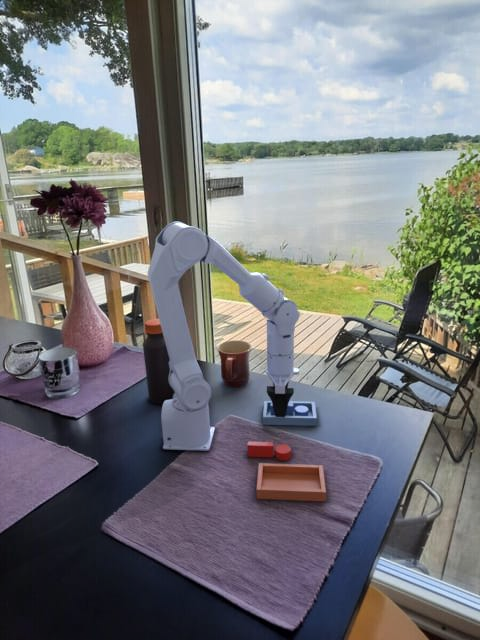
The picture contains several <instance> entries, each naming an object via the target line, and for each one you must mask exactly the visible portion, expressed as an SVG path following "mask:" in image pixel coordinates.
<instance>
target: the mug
mask: <svg viewBox="0 0 480 640" xmlns="http://www.w3.org/2000/svg"><path fill="white" fill-rule="evenodd" d="M216 350H217V352H218V355H219V358H220V359H219V360H220V377H221V381H222V384H223V385H224V386H226V387H228V388H231V389H239V388H243V387H245V386H247V385H248V384H249V382H250V376H251V371H250V356H251V355H250V354H251V351H252V344H251V343H250V342H247V341H246V340H245V341H244V340H228V341H223V342H221V343H219V344H218V345H217V346H216Z"/></svg>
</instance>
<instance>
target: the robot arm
mask: <svg viewBox="0 0 480 640" xmlns="http://www.w3.org/2000/svg"><path fill="white" fill-rule="evenodd" d="M154 244H155V245H154V250H153V253H152V255H151V259H150V262H149V266H148V270H147V280H148V282H149V283H148V284H149V287H150V290H151V294H152V298H153V301H154V305H155V309H156V313H157V316H158V319H159V321H160V325H161V328H162V332H163V336H164V340H165V343H166V347H167V351H168V355H169V358H170V361H169V367H170V373H169V378H168V380H169V384H170V386H171V387H172V388H173V390H174V391H175V393H174V396H173V399H170V400H165V401H164V403H163V404H162V407H161V413H160V414H161V416H160V419H161V430H162V432H161V433H162V441H163V445H162V449H163V450H168V451H169V450H171V451H200V452H202V451H204V452H208V451H210V449H211V445H212V442H213V438H214V434H215V431H216V427H214V426H211V422H210V421H211V420H210V407H209V406H210V405H209V402H210V400H211V398H212V389H211V386H210V384H209V383H208V382H207V381H206V380H205V379H204V376H203V372H202V370H201V367H200V365H199V363H198V361H197V358H196V354H195V350H194V345H193V341H192V337H191V334H190V329H189V325H188V321H187V316H186V313H185V308H184V304H183V299H182V295H181V292H180V288H179V284H178V283H179V281H180V279H181V278H182V276H183V275H184V274H185V273H186V271H187V270H189V269H191V268H192V267H194V266H195V265H196V264H197V263H199V262H201V263H204V264H211V265H214V267H216V268H217V269H218V270H220V271H221V272H222V273H223V274H225V275H226V276H227V277H228V278H230V279H231V280H232V281H233V282H235V283H236V284H237V285H238V289H239V290H238V291H239V295H240V296H241V297H242V298H243V299H245V300H246V301H247V302H248V303H249V304H250V305H252V306H253V307H254V308H255V309H256V310H258V311H259V312H260V314H261V315H262V317H264V318H266V369H265V372H266V375H267V377H268V378H269V379H270V381H271V382H272V385H266V394H267V396H268V397H269V399H270V401H272V404H273V409H274V413H275V416H276V417H285V416H286V412H287V407H288V403H289V401H291V398H292V397H293V395H294V392H295V388H294V387H289V382H290V380H291V379H292V378H293V376H295V375H296V376H297V375H299V374H300V368H298V367H294V366H295V331H296V330H295V327H296V324H297V322H298V321H299V319H300V316H301V311H300V310H299V309H298V305H297V304H296V302H295V301H293V300H291V299H290V298H287V297H285V291H284V290H283V289H281V288H277V287H276V286H275V285H274V284H273V283H272V282H270V279H271V277H270V276H268V275H267V274H266V273H260V272H257V271H256V272H250V271H249V270H248V269H246V268H245V267H244V265H242V264H241V263H240V262H239V261H238V259H236V258H235V257H234V256H233V255H232V254H231V253H230V252H229V251H228V250H227V249H226V248H224V246H223V245H222V244H221V243H220V242H219V241H217V240H216V239H214V238H213V237H211V236H209V235H207V234H205V232H204V231H203V230H202V229H200V228H199V227H197V226H190V225H187V224H186V223H184V222H181V221H173V222H170V223H168V224H166V225H165V226H164V227H163V229H161V231H160V232H159V233H158V235H157V236H156V237H155V243H154Z"/></svg>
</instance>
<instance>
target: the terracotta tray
mask: <svg viewBox="0 0 480 640" xmlns="http://www.w3.org/2000/svg"><path fill="white" fill-rule="evenodd" d="M256 479H257V480H256V490H255V491H256V500H257V499H258V500H279V501H281V500H282V501H302V502H305V501H306V502H327V489H326V479H325V472H324V465H323V464H302V463H301V464H298V463H296V464H295V463H270V462H269V463H267V462H266V463H265V462H258V468H257V478H256Z"/></svg>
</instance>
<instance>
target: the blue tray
mask: <svg viewBox="0 0 480 640" xmlns="http://www.w3.org/2000/svg"><path fill="white" fill-rule="evenodd" d="M271 403H272V401H271V400H264V401H263V412H262V425H264V426H271V425H272V426H302V427H303V426H304V427H305V426H306V427H307V426H308V427H317V425H318V416H317V407H316V402H315V401H301V400H300V401H299V400H298V401H297V400H296V401H295V400H289V403H293V416H285V417H276V416H275V415H271ZM297 406H306V407H307V408H308V416H295V407H297Z"/></svg>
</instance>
